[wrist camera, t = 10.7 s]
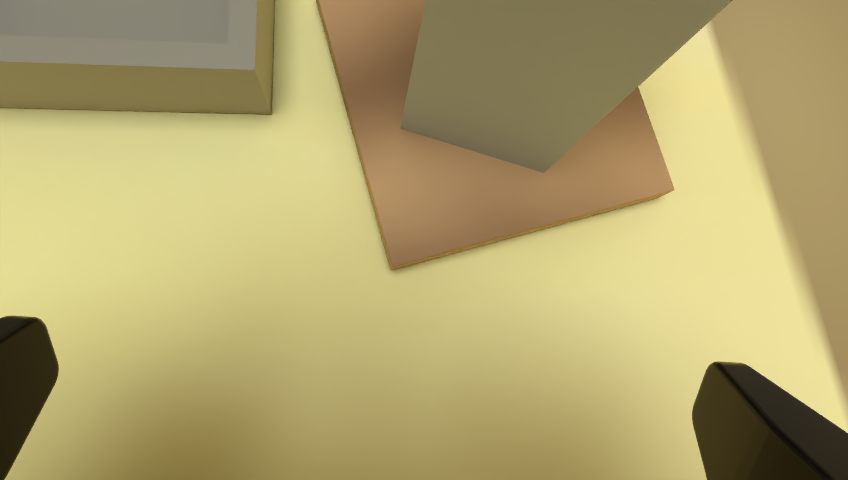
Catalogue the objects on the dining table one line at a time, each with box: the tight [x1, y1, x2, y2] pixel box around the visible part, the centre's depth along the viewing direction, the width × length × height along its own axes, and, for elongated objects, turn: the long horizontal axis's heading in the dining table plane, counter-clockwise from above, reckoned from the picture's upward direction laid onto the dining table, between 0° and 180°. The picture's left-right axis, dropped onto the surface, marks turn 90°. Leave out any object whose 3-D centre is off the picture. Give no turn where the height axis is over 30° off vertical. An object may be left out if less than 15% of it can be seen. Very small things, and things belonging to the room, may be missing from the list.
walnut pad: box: [316, 0, 674, 270], centre depth 18 cm, size 9×9×1 cm
